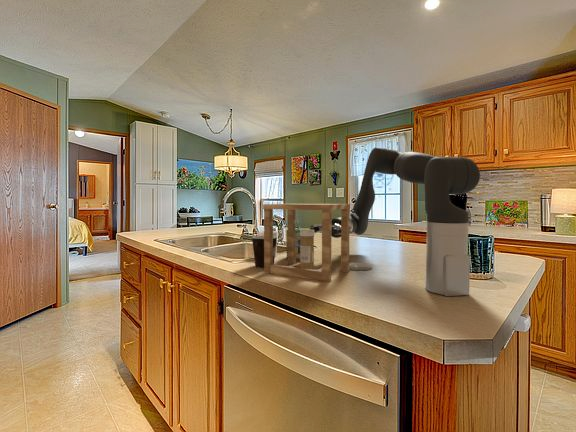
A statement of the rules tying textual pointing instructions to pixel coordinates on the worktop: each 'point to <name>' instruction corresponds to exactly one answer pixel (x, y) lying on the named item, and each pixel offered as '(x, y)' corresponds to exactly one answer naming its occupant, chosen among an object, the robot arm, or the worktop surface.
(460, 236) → the robot arm
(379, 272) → the worktop surface
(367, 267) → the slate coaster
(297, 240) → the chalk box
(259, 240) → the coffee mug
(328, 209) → the oak shelf
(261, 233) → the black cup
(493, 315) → the worktop surface
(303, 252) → the sprinkles bottle
